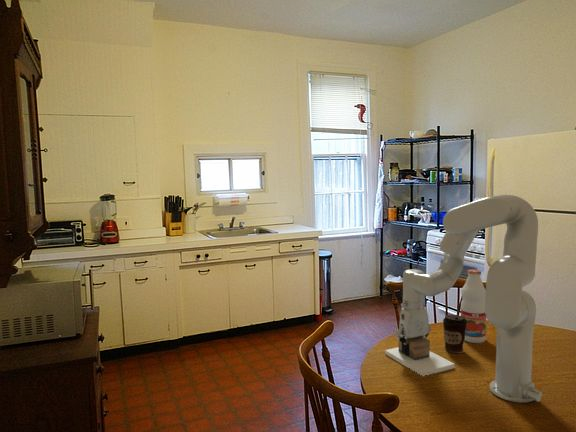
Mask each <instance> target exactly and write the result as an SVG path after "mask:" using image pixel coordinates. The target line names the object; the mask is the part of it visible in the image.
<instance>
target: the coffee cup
mask: <svg viewBox="0 0 576 432" xmlns="http://www.w3.org/2000/svg"><path fill="white" fill-rule="evenodd" d="M442 325H443V339H444V340H443V341H444V349H445V351H447V352H450V353H453V354H462V353H463V352H464V348H463V347H464V342H465V341H464V340H465V330H466V325H467V321H466V320H465V317H463V316H461V314H445V317H444V318H443V320H442Z"/></svg>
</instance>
